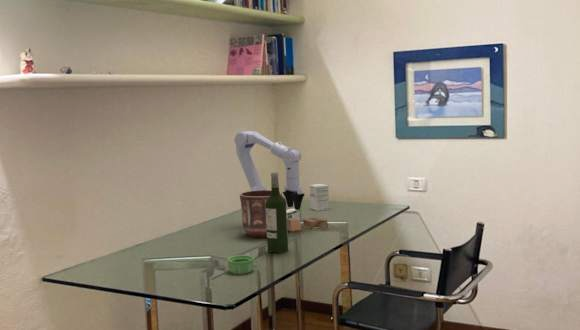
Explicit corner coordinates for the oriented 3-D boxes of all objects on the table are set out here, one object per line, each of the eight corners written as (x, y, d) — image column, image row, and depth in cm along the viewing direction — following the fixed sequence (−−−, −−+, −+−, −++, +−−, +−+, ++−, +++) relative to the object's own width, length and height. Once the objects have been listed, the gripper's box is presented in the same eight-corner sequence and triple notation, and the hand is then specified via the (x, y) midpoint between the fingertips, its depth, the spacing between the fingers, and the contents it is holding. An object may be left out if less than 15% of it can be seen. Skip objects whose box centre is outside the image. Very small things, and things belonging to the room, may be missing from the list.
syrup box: (302, 221, 288) (283, 227, 277) (292, 219, 292) (272, 225, 280) (301, 209, 287) (282, 214, 276) (291, 208, 291) (272, 213, 280)
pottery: (246, 241, 252) (244, 197, 250) (238, 232, 269) (236, 191, 267) (287, 237, 257) (286, 194, 255) (277, 229, 274) (275, 189, 272)
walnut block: (311, 229, 270) (311, 222, 270) (303, 226, 277) (303, 219, 277) (327, 227, 273) (327, 219, 273) (319, 224, 281) (318, 217, 280)
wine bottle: (263, 251, 235) (259, 173, 231) (278, 247, 240) (274, 171, 237) (277, 254, 229) (274, 174, 226) (292, 250, 235) (289, 172, 231)
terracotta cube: (291, 231, 267) (290, 220, 267) (287, 229, 271) (286, 218, 271) (300, 230, 269) (300, 219, 268) (296, 228, 273) (295, 217, 272)
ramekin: (222, 272, 209) (221, 259, 209) (240, 265, 216) (239, 253, 216) (242, 276, 204) (241, 263, 203) (259, 269, 211) (259, 257, 210)
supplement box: (310, 208, 318) (309, 184, 316) (322, 207, 321) (321, 183, 319) (316, 211, 311) (315, 186, 310) (329, 209, 314) (328, 184, 313)
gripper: (308, 178, 263) (309, 209, 265) (294, 175, 276) (295, 204, 278) (293, 180, 260) (294, 211, 262) (279, 176, 274) (281, 206, 275)
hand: (293, 208), depth 270 cm, fingers open, 7 cm apart
